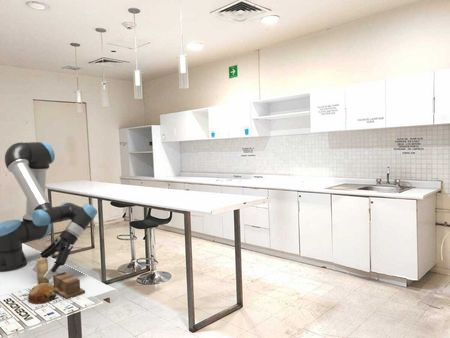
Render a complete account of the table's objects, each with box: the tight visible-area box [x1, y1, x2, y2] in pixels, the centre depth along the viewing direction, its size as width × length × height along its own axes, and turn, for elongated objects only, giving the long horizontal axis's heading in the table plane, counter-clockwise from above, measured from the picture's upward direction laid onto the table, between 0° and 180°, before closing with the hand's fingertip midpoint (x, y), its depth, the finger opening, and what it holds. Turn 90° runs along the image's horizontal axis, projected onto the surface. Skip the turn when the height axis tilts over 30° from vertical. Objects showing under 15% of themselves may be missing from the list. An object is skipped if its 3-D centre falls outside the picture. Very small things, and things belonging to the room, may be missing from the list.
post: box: [35, 257, 50, 285], centre depth 154 cm, size 4×4×12 cm
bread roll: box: [27, 282, 57, 305], centre depth 142 cm, size 10×10×8 cm
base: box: [52, 271, 86, 300], centre depth 148 cm, size 16×8×6 cm, turn 49°
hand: (39, 274), depth 152 cm, fingers open, 13 cm apart
